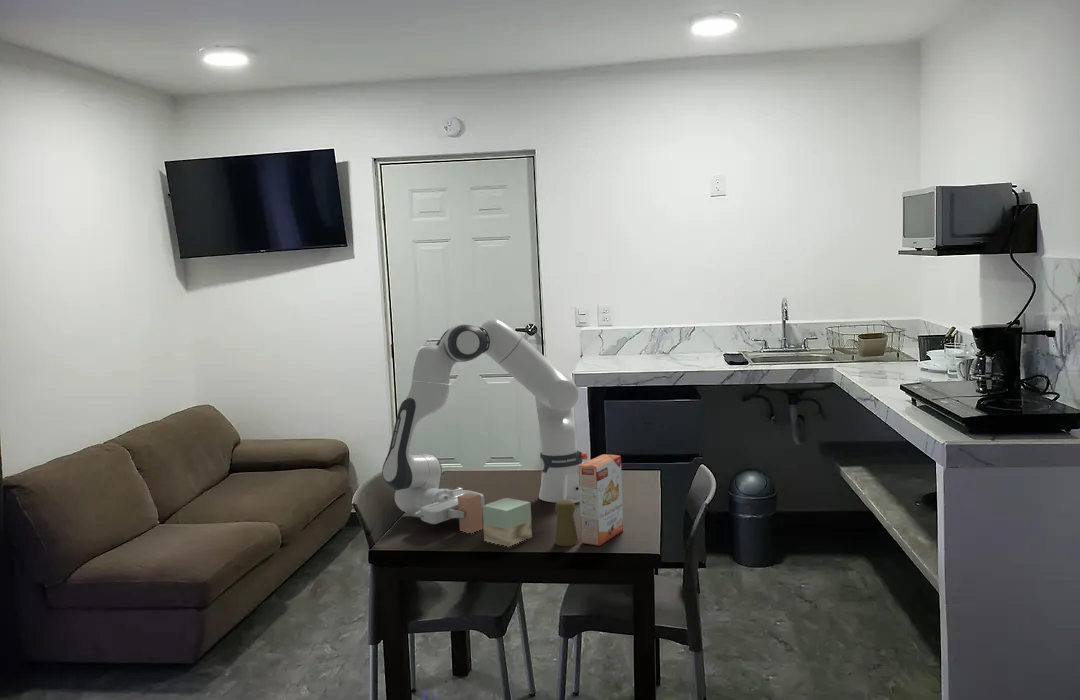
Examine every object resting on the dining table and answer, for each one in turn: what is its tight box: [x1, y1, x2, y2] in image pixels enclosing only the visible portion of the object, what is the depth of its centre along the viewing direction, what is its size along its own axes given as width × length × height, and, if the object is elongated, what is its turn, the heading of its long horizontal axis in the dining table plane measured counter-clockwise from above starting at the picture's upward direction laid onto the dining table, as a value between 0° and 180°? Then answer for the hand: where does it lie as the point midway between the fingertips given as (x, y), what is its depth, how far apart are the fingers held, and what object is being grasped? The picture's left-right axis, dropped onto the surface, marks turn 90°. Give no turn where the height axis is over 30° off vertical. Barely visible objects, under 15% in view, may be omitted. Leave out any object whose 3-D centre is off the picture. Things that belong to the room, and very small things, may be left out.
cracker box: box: [578, 454, 624, 547], centre depth 221 cm, size 14×6×21 cm, turn 148°
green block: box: [482, 497, 532, 530], centre depth 224 cm, size 9×9×5 cm
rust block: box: [458, 493, 484, 535], centre depth 234 cm, size 4×4×10 cm
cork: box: [554, 500, 579, 547], centre depth 219 cm, size 6×6×11 cm
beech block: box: [483, 520, 533, 548], centre depth 225 cm, size 9×9×5 cm
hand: (472, 511), depth 233 cm, fingers closed on rust block, 4 cm apart
